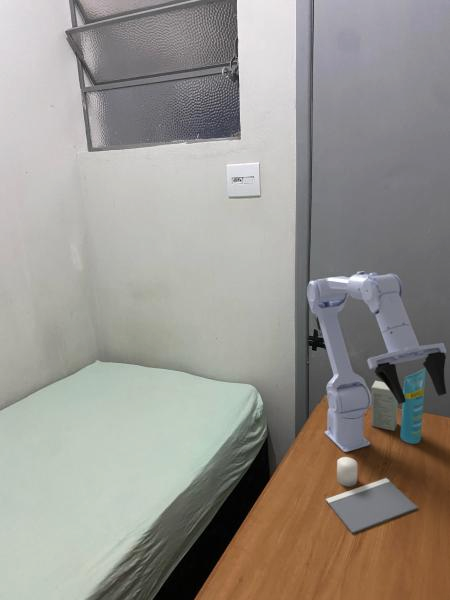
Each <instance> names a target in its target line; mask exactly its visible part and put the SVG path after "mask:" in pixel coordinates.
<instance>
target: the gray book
mask: <svg viewBox="0 0 450 600" xmlns="http://www.w3.org/2000/svg"><path fill="white" fill-rule="evenodd" d="M325 502H326V503H327V504H328V506H329V507H330V508H331V509H332V510H333V512H334V513H335V514H336V516H337V517H338V518H339V519H340V520H341V522H342V523H343V525H345V527H346V528H347V529H348V531H349V532H350V533H351V534H356V533H358V532H360V531H362V530H363V531H364V530H365V529H368V528H371V527H375V526H376V525H378V524H381V523H384V522H386V521H389V520H392V519H394V518H397V517H399V516H402V515H404V514H408V513H410V512H412V511H414V510H418V506H417V505H416V504H415V503H414V502H413V501H411V499H410V498H408V497H407V496H406V495H405V494H404V493H403V492H402V491H401V490H400V489H398V488H397V486H395V484H393V483H392V482H391V481H390V479H388V478H387V477H384V478H381V479H379V480H376V481H374V482H369V483H367V484H363V485H361V486H359V487H356V488H353V489H350V490H347V491H344V492H341V493H339V494H335V495H332V496H330V497H327V498H325Z"/></svg>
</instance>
